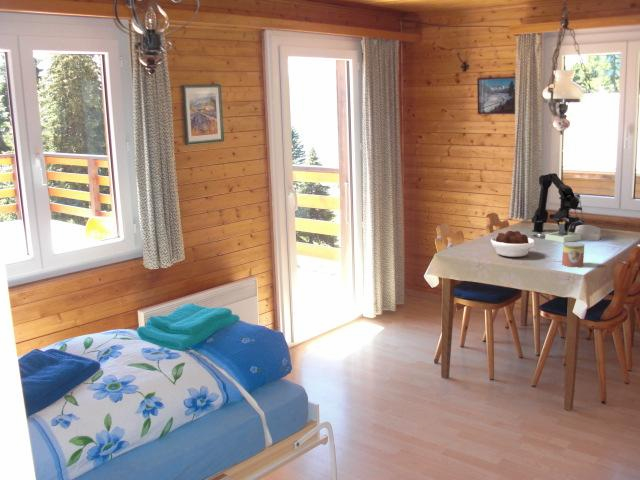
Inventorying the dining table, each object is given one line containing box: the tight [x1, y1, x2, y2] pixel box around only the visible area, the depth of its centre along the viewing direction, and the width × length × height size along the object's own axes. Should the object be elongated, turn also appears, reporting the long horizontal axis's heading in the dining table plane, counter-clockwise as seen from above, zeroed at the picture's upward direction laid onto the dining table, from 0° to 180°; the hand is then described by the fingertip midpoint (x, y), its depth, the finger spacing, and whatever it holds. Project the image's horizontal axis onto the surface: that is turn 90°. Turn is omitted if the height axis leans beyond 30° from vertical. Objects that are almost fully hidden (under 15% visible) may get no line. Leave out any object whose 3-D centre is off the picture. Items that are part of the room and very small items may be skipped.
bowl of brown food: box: [490, 230, 536, 258], centre depth 426 cm, size 25×25×15 cm
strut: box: [558, 220, 569, 235], centre depth 467 cm, size 4×4×8 cm
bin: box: [544, 231, 582, 244], centre depth 469 cm, size 18×14×4 cm
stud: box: [530, 232, 546, 239], centre depth 480 cm, size 9×9×2 cm
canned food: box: [561, 241, 585, 268], centre depth 402 cm, size 11×11×12 cm
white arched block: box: [573, 224, 601, 241], centre depth 474 cm, size 17×5×10 cm, turn 57°
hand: (563, 230), depth 468 cm, fingers closed on strut, 4 cm apart
